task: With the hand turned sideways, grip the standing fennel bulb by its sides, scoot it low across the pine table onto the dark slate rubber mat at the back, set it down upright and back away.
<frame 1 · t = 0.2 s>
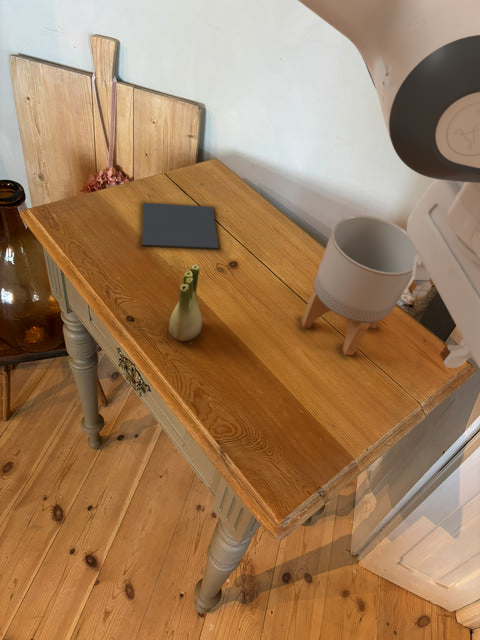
hand: (430, 325, 48), 23 cm above the table, tool pointing down, fingers open, 8 cm apart
fennel bulb: (185, 333, 72), on the table
mat: (179, 226, 90), on the table
planter: (338, 325, 78), on the table
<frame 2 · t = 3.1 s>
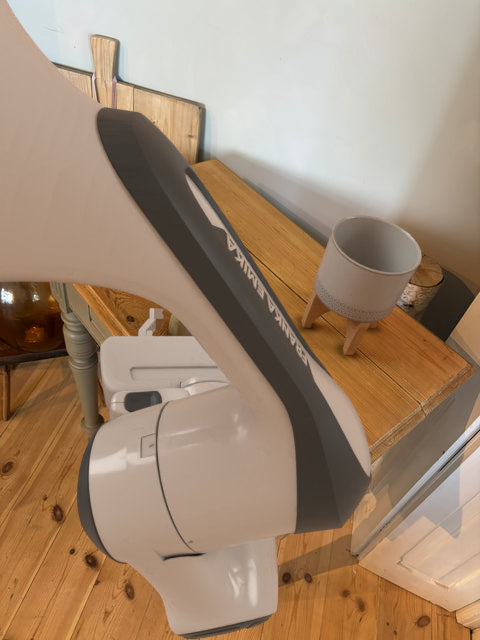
hand: (199, 312, 51), 18 cm above the table, tool horizontal, fingers open, 8 cm apart
nothing on the table moved.
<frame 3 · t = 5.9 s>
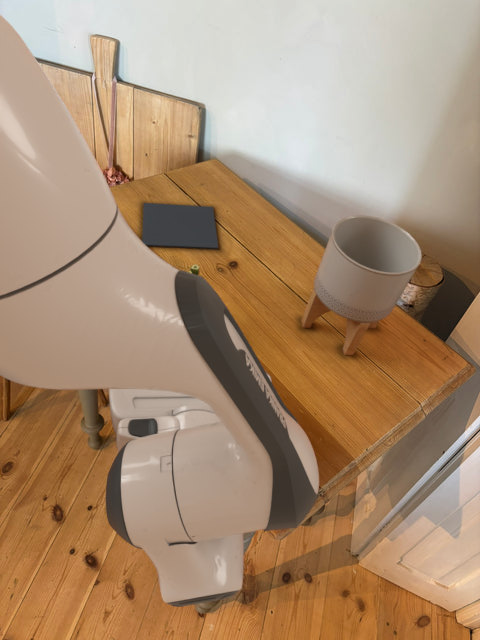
hand: (189, 348, 62), 6 cm above the table, tool horizontal, fingers open, 8 cm apart
nothing on the table moved.
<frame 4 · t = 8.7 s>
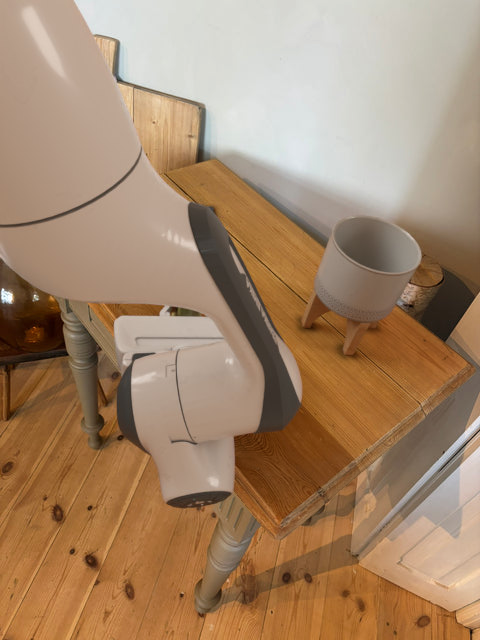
hand: (187, 299, 68), 7 cm above the table, tool horizontal, fingers closed on fennel bulb, 3 cm apart
fennel bulb: (185, 333, 72), on the table, touching gripper
everything else where it was.
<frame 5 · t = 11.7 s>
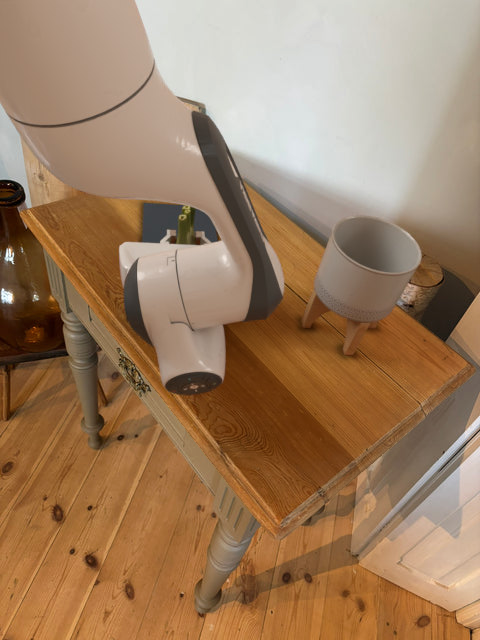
hand: (185, 233, 75), 8 cm above the table, tool horizontal, fingers closed on fennel bulb, 3 cm apart
fennel bulb: (183, 268, 79), point 2 cm above the table, touching gripper
everything else where it was.
when the fingers open (7 cm above the table, at t = 14.9 s): fennel bulb stays where it is, resting on mat.
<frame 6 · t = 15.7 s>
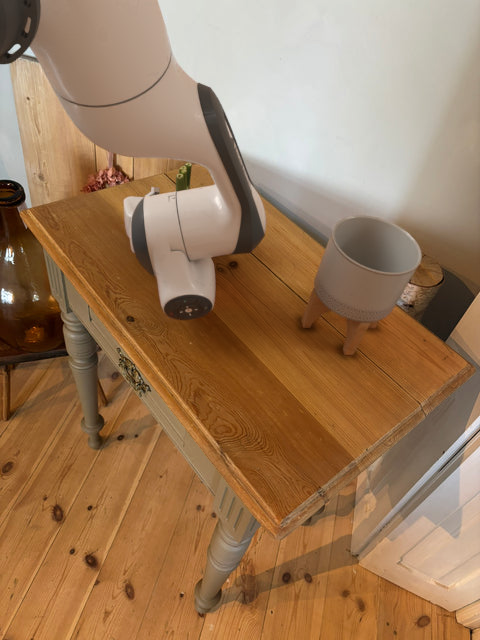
hand: (181, 192, 85), 7 cm above the table, tool horizontal, fingers open, 8 cm apart
fennel bulb: (180, 225, 89), resting on mat
everything else where it was.
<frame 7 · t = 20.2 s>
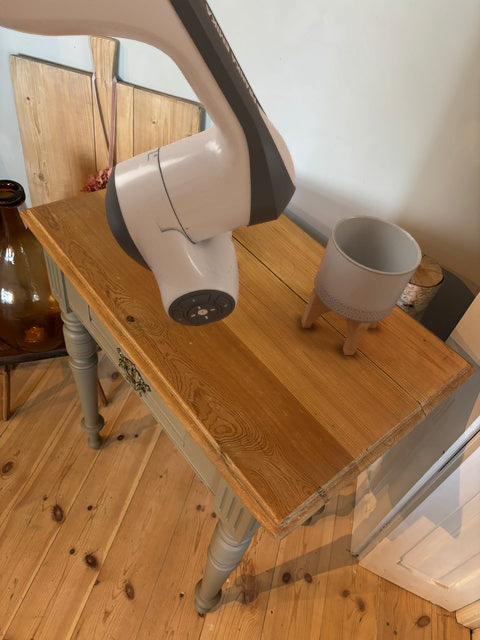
hand: (189, 160, 66), 21 cm above the table, tool horizontal, fingers open, 8 cm apart
nothing on the table moved.
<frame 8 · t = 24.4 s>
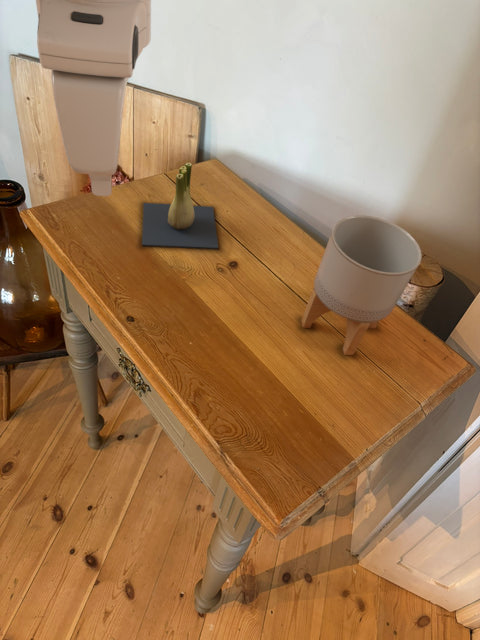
hand: (106, 165, 47), 29 cm above the table, tool pointing down, fingers open, 8 cm apart
nothing on the table moved.
at the end: fennel bulb inside the target area on the mat (0.2 cm from its centre), point 0.2 cm above the mat's base; fennel bulb tilted 0°; the gripper is holding nothing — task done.
